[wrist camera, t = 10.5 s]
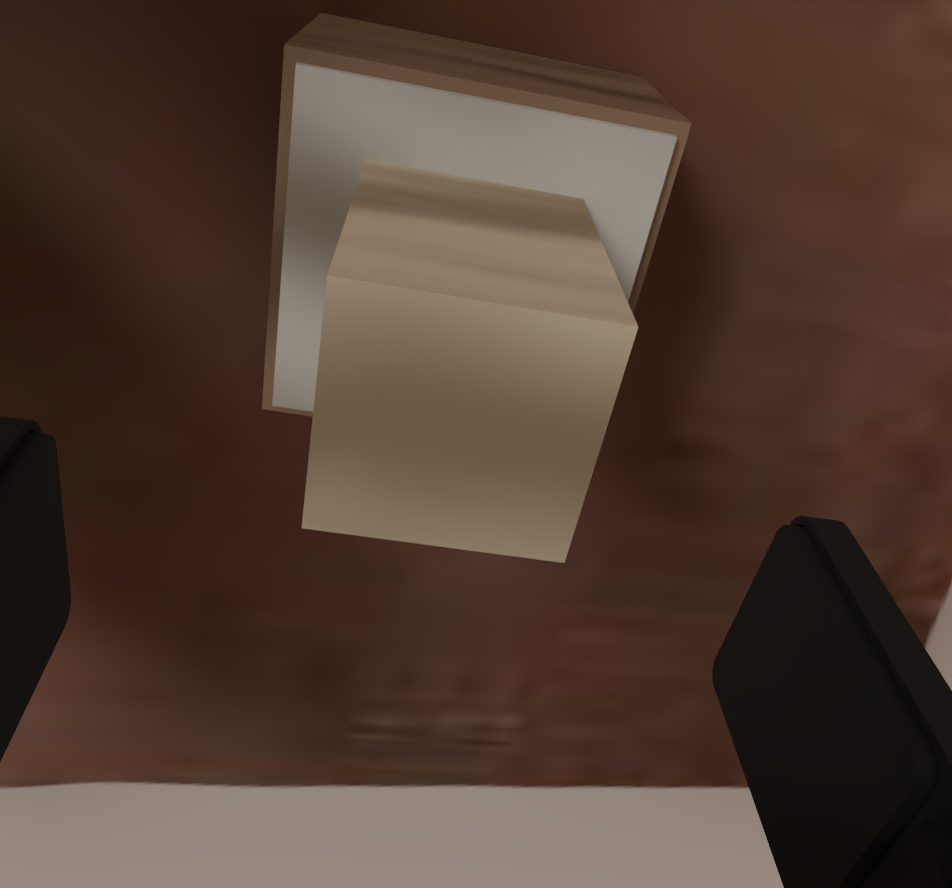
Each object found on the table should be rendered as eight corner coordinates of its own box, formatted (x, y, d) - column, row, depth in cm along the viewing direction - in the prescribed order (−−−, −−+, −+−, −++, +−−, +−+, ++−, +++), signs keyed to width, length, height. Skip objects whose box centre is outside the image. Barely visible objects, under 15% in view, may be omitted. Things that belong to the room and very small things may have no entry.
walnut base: (321, 12, 23) (281, 45, 18) (642, 76, 24) (694, 126, 19) (296, 316, 28) (259, 413, 23) (566, 359, 29) (591, 461, 24)
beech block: (366, 159, 19) (326, 274, 13) (583, 198, 20) (638, 326, 14) (342, 357, 22) (301, 528, 16) (535, 387, 22) (564, 563, 16)
